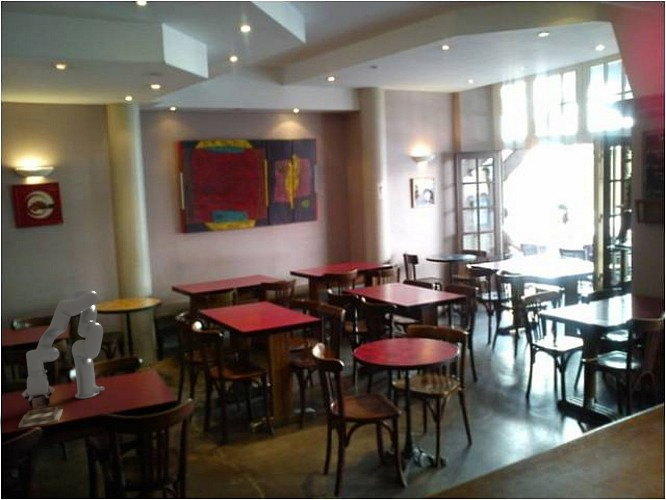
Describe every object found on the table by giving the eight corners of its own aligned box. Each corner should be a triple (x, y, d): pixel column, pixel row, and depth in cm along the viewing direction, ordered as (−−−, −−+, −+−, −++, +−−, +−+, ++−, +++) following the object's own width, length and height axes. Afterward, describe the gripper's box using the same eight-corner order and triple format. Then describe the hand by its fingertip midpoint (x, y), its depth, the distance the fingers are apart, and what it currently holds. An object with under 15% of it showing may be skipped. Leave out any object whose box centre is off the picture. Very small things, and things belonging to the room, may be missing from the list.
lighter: (35, 413, 318) (33, 394, 317) (31, 412, 320) (29, 393, 319) (49, 408, 325) (47, 389, 324) (45, 407, 326) (43, 389, 326)
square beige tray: (62, 411, 318) (62, 405, 318) (58, 421, 303) (57, 415, 302) (25, 416, 313) (24, 410, 313) (18, 427, 298) (18, 421, 297)
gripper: (55, 369, 326) (58, 401, 328) (19, 374, 321) (23, 406, 323) (53, 372, 319) (56, 405, 321) (16, 377, 314) (20, 411, 316)
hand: (39, 405), depth 322 cm, fingers closed on lighter, 6 cm apart
